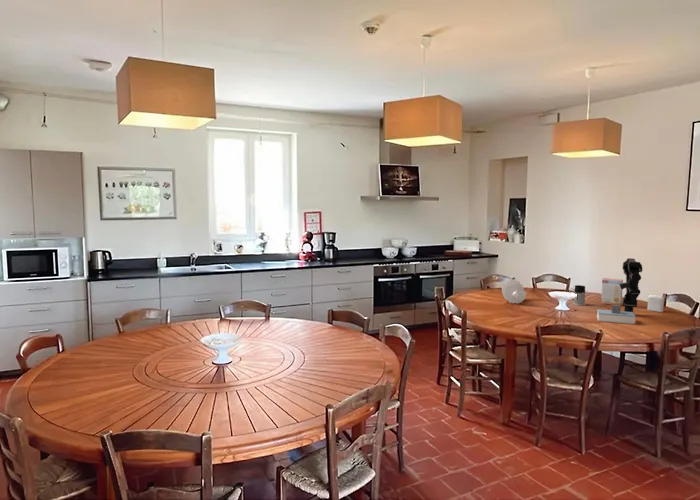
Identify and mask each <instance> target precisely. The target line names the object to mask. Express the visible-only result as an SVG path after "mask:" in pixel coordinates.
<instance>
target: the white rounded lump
mask: <svg viewBox="0 0 700 500" xmlns="http://www.w3.org/2000/svg"><path fill="white" fill-rule="evenodd" d="M501 293H502V296H503V297H504V299H505V300H506V301H507V302H509V304H514V303H516V304H520V303H523V301H524V300H526V296H527V294H528V293H527V292H526V291H525V288H524V286H523V284H522V283H521V282H520V281H519V280H517V279H515V278H513V279H510V278H509V279H507V280H506V281H503V284H502V286H501Z"/></svg>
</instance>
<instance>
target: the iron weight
mask: <svg viewBox="0 0 700 500" xmlns="http://www.w3.org/2000/svg"><path fill="white" fill-rule="evenodd" d="M621 307H622V305H621V306H620V305H611V310H612V311H611V312H612V313H617V314H620V313H621V311H622V310H621V309H622V308H621Z"/></svg>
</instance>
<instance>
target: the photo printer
mask: <svg viewBox="0 0 700 500" xmlns="http://www.w3.org/2000/svg"><path fill="white" fill-rule="evenodd" d="M664 301H665V299H664V297H663V296H661V295H658V294H650V295H648V297H647V311H652V312H658V313H664V304H665V303H664Z"/></svg>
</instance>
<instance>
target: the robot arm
mask: <svg viewBox="0 0 700 500" xmlns="http://www.w3.org/2000/svg"><path fill="white" fill-rule="evenodd" d="M622 271H623V274H624V275H625V282H623V283H622V284H619V285H620V288H621V289H623V290H624V289H625V295H624V296H623V297H622V305H621V307H622V306H623V308H624V309H623V311H624V312H633V313H634V308H637V307H638V300H637V299H638V297H639V295H640V294H641V290H640V289H639V283H640V281H641V279H642V276H641V274H640V273H642V272H643V265H642V263H641V262H640V261H636V259H635V258H626V260H625V261H623V263H622Z"/></svg>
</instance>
